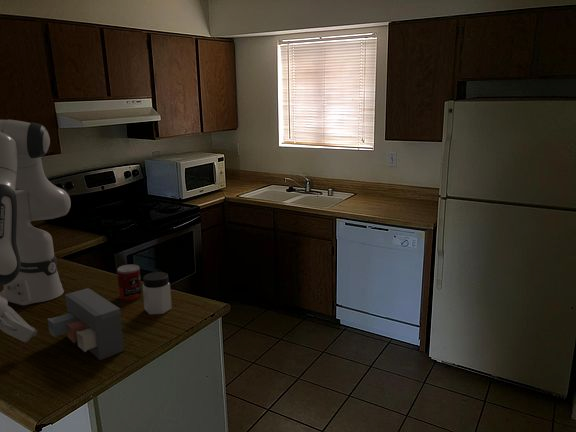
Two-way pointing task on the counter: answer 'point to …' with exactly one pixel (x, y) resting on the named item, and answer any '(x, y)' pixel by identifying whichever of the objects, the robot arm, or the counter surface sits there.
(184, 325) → the counter surface
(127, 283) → the canned food
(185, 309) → the counter surface
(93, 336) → the ivory key
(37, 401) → the counter surface
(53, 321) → the blue-grey key
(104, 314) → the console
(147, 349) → the counter surface
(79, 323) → the brick key
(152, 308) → the jar
